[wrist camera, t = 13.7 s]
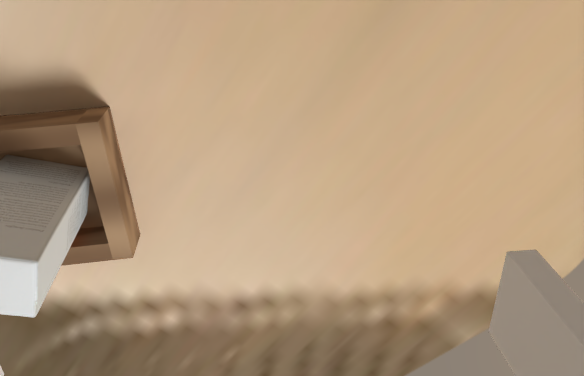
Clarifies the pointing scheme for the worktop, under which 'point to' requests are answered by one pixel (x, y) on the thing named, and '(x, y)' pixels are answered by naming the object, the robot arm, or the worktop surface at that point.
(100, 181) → the rectangular wooden frame
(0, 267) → the skincare box
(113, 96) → the worktop surface
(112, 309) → the worktop surface
